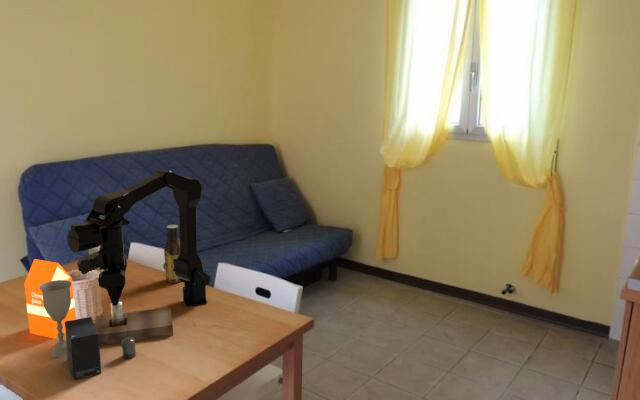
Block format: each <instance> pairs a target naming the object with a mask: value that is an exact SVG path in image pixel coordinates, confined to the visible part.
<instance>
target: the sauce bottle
mask: <svg viewBox="0 0 640 400" xmlns="http://www.w3.org/2000/svg"><path fill="white" fill-rule="evenodd" d="M165 228H166V229H165V230H166V235H167V236H166V241H165V244H164V249H163V250H164V251H163V253H164V254H163V255H164V271H165V273H164V274H165V279H166V280H165V281H167V282H168V283H171V284H175V283H176V284H177V283H181V282H180V280H179V278H178V277H177V276H176V275H175V272H174V271H173V269H174V263H173V260H174V259H177V258H178V256H179V254H180V235H179V232H180V225H177V224H169V225H167V226H166V227H165Z"/></svg>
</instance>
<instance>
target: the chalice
mask: <svg viewBox="0 0 640 400" xmlns="http://www.w3.org/2000/svg"><path fill="white" fill-rule="evenodd" d="M72 283H73V282H72ZM72 283H71V282H70V281H66V280H56V281H50V282H46V283H44V284H42V285H40V287H39V288H40V290H41V291H42V294H43V303H44V308H45V309H46V311H47V313H48V314H49V316H50V317H51V318H52V320H53V321H57V328H56V329H57V330H58V334H57V336H58V337H57V338H58V341H57V343H55V344H54V345H53V347H52V352H51V353H50V355H51V356H52V357H53V358H64V357H67V342H66V340H64V337H65V333H63V332H62V329H63V326H62V323H61V322H62V320H64V319H65V318H66V315H67V313H68V311H69V308H70V304H71V297H70V287H71V284H72Z"/></svg>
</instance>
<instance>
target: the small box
mask: <svg viewBox="0 0 640 400" xmlns="http://www.w3.org/2000/svg"><path fill="white" fill-rule="evenodd" d="M64 323H65V330H66V333H65V341H66V342H67V356H66V357H67V359H66V360H67V363H68V367H69V372H70V375H71V377H72V378H71V379H72V380H73V381H76V380H81V379H84V378H87V377H88V378H89V377H92V376H95V375H99V374H102V366H101V365H102V362H101V348H100V347H101V345H99V333H98V331H97V329H96V326H95V324H94V323H95V321H94V320H93V318H92V316H89V317H88V316H87V317H82V318H78V319H77V318H76V320H70V321H65V322H64Z"/></svg>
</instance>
